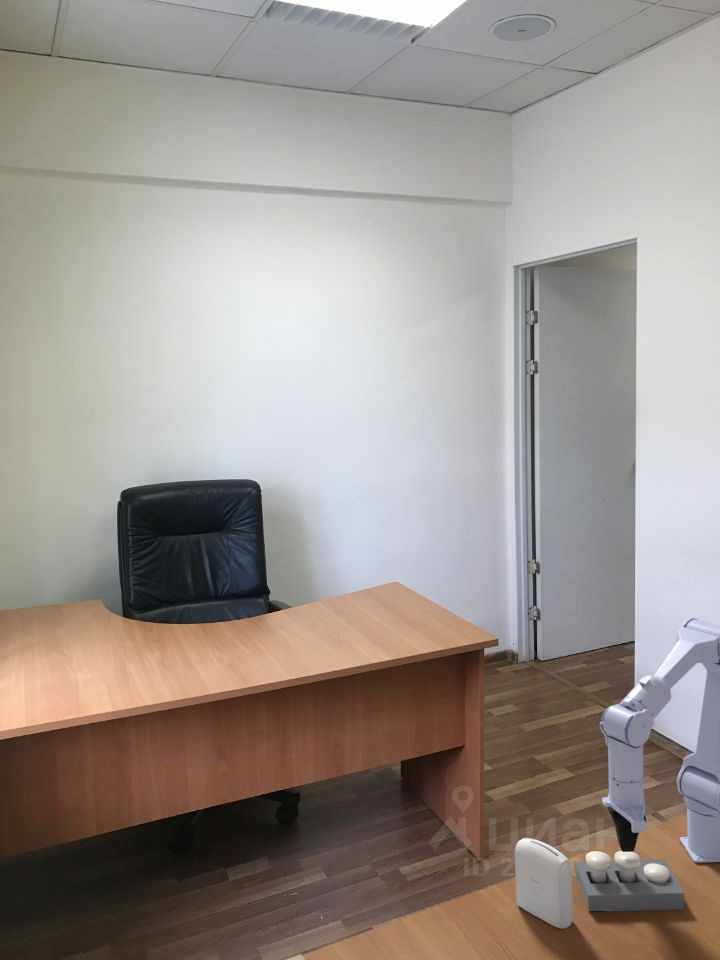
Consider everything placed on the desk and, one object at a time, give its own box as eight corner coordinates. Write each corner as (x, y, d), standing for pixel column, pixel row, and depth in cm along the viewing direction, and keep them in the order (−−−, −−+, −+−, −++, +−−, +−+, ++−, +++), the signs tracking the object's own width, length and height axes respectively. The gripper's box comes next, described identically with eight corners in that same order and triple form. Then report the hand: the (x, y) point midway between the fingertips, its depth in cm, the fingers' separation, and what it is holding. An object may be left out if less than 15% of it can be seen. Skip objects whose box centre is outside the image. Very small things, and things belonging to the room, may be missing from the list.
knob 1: (607, 871, 145) (607, 850, 144) (614, 885, 141) (613, 864, 140) (583, 872, 145) (583, 851, 144) (589, 886, 141) (589, 865, 140)
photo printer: (512, 905, 141) (510, 837, 140) (528, 894, 144) (526, 828, 142) (561, 933, 133) (559, 862, 132) (577, 922, 136) (575, 852, 134)
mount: (664, 874, 147) (664, 858, 147) (684, 909, 138) (684, 893, 137) (575, 876, 148) (574, 861, 148) (588, 912, 138) (588, 895, 138)
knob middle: (636, 870, 144) (635, 850, 144) (643, 885, 140) (643, 863, 140) (612, 871, 145) (611, 850, 144) (618, 885, 140) (618, 864, 140)
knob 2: (664, 883, 145) (664, 863, 144) (672, 898, 140) (672, 877, 140) (640, 884, 145) (640, 863, 144) (648, 899, 141) (647, 877, 140)
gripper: (592, 757, 148) (593, 827, 149) (613, 797, 133) (615, 874, 135) (631, 755, 147) (632, 826, 149) (657, 795, 133) (658, 873, 135)
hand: (626, 849), depth 142 cm, fingers closed
